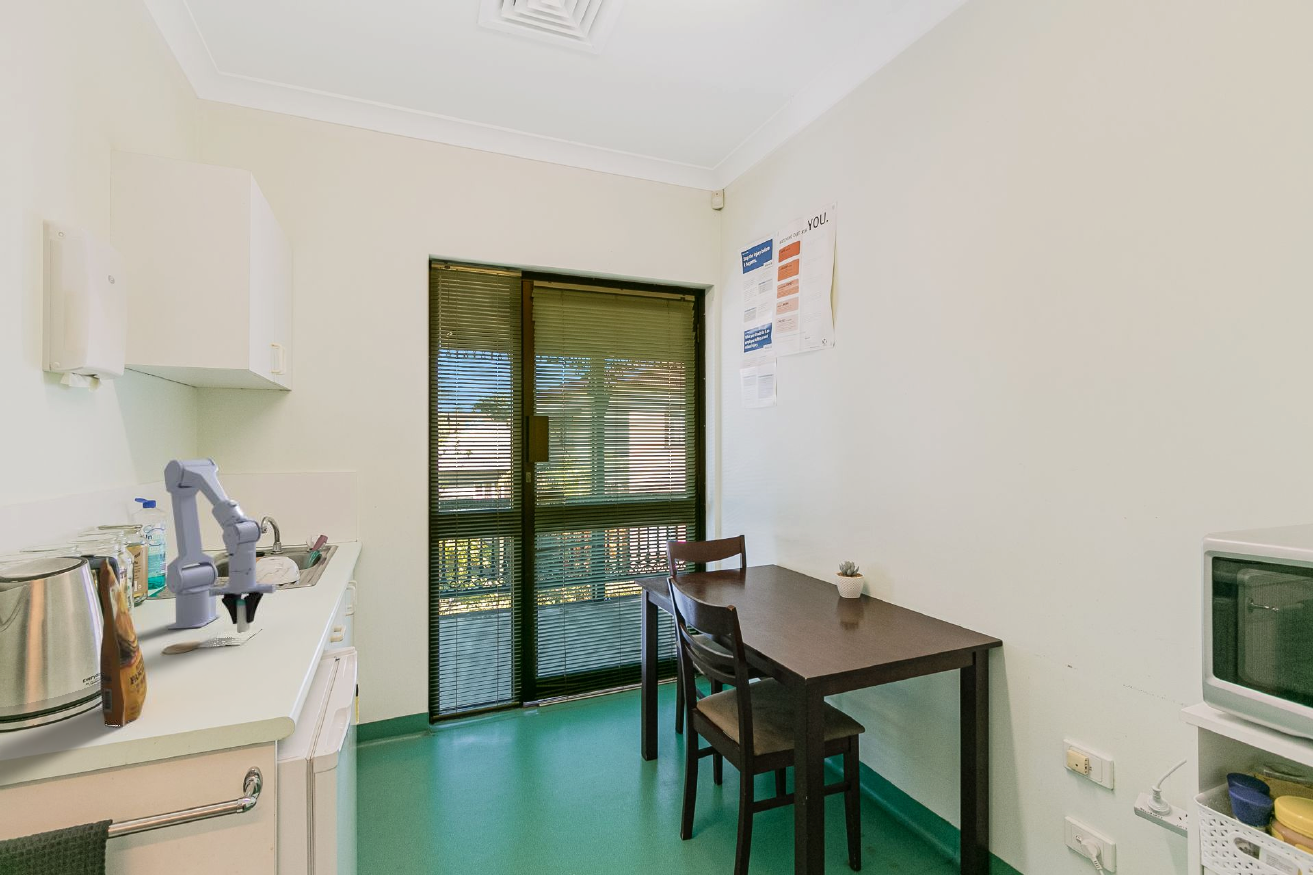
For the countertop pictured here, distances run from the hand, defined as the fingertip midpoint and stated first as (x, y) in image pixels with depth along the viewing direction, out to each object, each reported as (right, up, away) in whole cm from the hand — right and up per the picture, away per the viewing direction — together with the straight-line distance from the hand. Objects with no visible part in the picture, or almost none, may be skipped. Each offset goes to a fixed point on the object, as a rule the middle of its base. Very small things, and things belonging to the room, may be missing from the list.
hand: (243, 622), depth 152 cm
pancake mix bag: (+7, -3, -42) cm, 43 cm away
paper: (0, -3, -4) cm, 5 cm away
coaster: (-7, -3, -11) cm, 13 cm away
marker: (0, -2, 0) cm, 2 cm away
